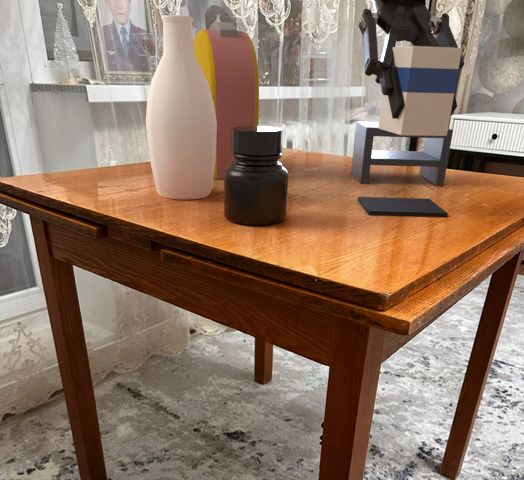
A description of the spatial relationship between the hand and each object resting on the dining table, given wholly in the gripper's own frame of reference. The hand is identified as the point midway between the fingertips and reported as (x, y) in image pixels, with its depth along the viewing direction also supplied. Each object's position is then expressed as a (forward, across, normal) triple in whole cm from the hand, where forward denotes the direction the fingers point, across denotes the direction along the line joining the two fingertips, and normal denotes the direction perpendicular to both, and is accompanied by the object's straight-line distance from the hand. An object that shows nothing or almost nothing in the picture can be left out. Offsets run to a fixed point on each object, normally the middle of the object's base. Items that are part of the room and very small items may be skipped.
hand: (424, 112), depth 76 cm
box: (0, 0, -5) cm, 5 cm away
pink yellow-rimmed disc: (-17, +24, -38) cm, 48 cm away
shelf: (-10, -10, -30) cm, 33 cm away
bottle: (-1, +33, -21) cm, 40 cm away
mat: (+8, 0, -12) cm, 15 cm away
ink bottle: (+11, +24, -9) cm, 28 cm away
